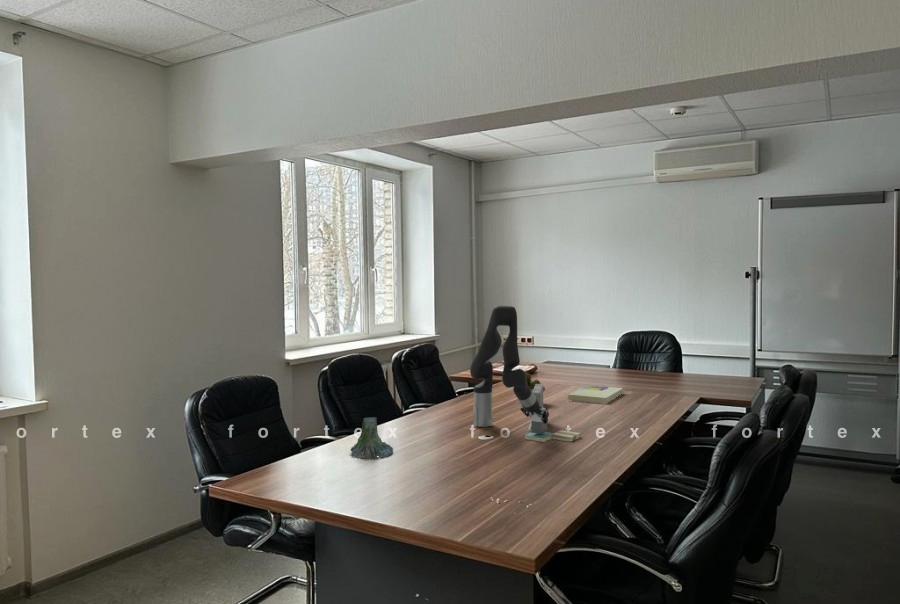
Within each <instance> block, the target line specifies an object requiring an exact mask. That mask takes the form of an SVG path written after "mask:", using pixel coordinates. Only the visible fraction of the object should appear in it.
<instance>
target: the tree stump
mask: <svg viewBox="0 0 900 604" xmlns="http://www.w3.org/2000/svg"><path fill="white" fill-rule="evenodd" d="M377 422H378V421H377V417H376V416H374V417H363V418H362V425H361V426H362V427H361V430H360V431H361V432H360V435H359V436H358V439H357V442H356V443H355V444H353V446H352V447H350V452H351V453H352V455H353V457H355V458H357V459H359V458H360V459H361V460H369V459H371V460H379V459H378V458H381V459H385V458H384V457H386V458H389V457H391V456H392V455H393V454H392V453H394V448H393V447H392V446H391V445H390V444H388V443H386V442H385V441H382V438H381V437H380V436H379V433H378V432H379V431H378V423H377ZM391 454H392V455H391ZM377 456H379V457H377ZM388 456H389V457H388Z"/></svg>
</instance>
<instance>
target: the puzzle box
mask: <svg viewBox="0 0 900 604" xmlns="http://www.w3.org/2000/svg"><path fill="white" fill-rule="evenodd" d="M622 393H623V394H624V388H623V387H613V386H599V385H586V386H583V387H581V388H579V389H577V390H574V391H572V392H570V393H568V394H567V397H568V398H567V399H568V400H572V401H571V402H576V401H581V402H580V403H587V402H591V403H590V404H598V403H604V404H603V405H607V404H609V403H611V402H612V401H611V400H613V399H614V398H616V397H618V396H619V395H621V394H622ZM623 394H622V395H623ZM622 395H621V396H622ZM619 397H620V396H619ZM619 397H618V398H619ZM616 399H617V398H616ZM614 400H615V399H614ZM614 400H613V401H614ZM610 401H611V402H610ZM608 402H609V403H608ZM606 403H607V404H606Z"/></svg>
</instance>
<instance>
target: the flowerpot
mask: <svg viewBox="0 0 900 604" xmlns="http://www.w3.org/2000/svg"><path fill="white" fill-rule="evenodd" d="M524 372H525V374H526V380H527V384H528V386H529V388H530V389H531V391H532V392H533V389H534V387H535V384H543V383H541V381H540V379H537V378H535V379H534V380H532V374H530V373H529V372H527V371H524ZM545 391H546V387H545V386H544V385H543V393H544V392H545Z"/></svg>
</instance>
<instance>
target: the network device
mask: <svg viewBox="0 0 900 604" xmlns="http://www.w3.org/2000/svg"><path fill="white" fill-rule="evenodd" d="M543 386H544V384H543V383H542V384H535V387H534V389H533V393H534V395H535V396H536V398H537V400H538V401H539V405H540V407H541V408H544V392H543ZM527 431H529V432H532V428H531V421H530V422H529V425H528V429H527Z"/></svg>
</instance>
